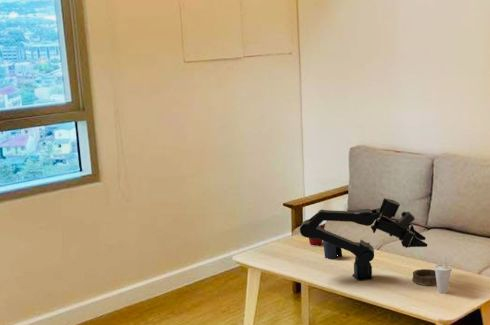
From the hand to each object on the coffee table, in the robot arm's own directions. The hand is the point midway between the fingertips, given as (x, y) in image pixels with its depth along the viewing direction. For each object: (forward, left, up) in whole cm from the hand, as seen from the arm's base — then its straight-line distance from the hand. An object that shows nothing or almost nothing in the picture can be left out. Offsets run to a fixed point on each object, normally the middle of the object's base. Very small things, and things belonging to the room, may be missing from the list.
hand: (426, 242), depth 255 cm
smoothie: (-2, -14, -16) cm, 21 cm away
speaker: (-24, +41, -16) cm, 50 cm away
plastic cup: (-23, +63, -16) cm, 68 cm away
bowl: (-1, -2, -16) cm, 16 cm away
